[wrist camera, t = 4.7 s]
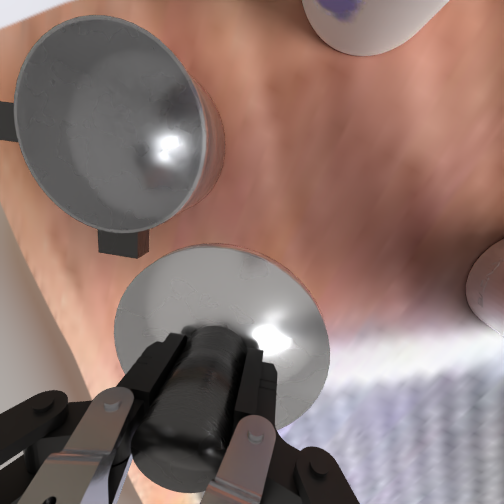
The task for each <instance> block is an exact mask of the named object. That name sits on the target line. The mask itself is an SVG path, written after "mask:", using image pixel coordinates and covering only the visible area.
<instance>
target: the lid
mask: <svg viewBox="0 0 504 504" xmlns="http://www.w3.org/2000/svg"><path fill="white" fill-rule="evenodd" d="M171 332H172V333H178V334H183V335H186V336H187V344H186V345H185V347H184V349H183V351H182V352H181V354H180V356H179V357H178V359H177V361H176V363H175V364H174V366H173V368H172V369H171V371H170V373H169V375H168V376H167V378H166V380H165V381H164V383H163V385H162V387H161V388H160V390H159V392H158V393H157V395H156V397H155V399H154V400H153V402H152V404H151V405H150V407H149V409H148V411H147V412H146V414H145V416H144V417H143V419H142V421H141V423H140V424H139V426H138V428H137V429H136V431H135V433H134V435H133V437H132V440H131V446H130V447H131V454H132V457H133V460H134V462H135V464H136V465H137V467H138V468H139V470H140V471H141V472H142V473H143V474H144V475H145V476H146V477H147V478H149V479H150V480H151V481H153V482H154V483H156V484H158V485H160V486H162V487H164V488H166V489H169V490H172V491H176V492H182V493H197V492H202V491H205V490H206V488H207V486H208V484H209V483H210V481H211V480H212V479H213V480H214V479H215V477H216V475H217V473H218V470H219V468H220V465H221V463H222V461H223V458H224V456H225V453H226V451H227V449H228V446H229V444H230V441H231V439H232V432H233V431H232V424H233V416H234V410H235V405H236V401H237V396H238V392H239V387H240V383H241V379H242V374H243V370H244V365H245V361H246V356H247V352H248V348H249V347H251V348H256V349H261V350H264V353H263V360H262V362H267V363H272V364H274V366H275V368H276V370H277V372H278V375H277V391H276V392H277V393H276V412H275V426H276V430H279V429H281V428H283V427H285V426H287V425H289V424H291V423H292V422H294V421H295V420H296V419H298V418H299V417H301V416H302V415H303V414H304V413H305V412H306V411H307V410H308V409H309V408H310V407H311V406H312V404H313V403H314V402H315V400H316V399H317V398H318V396H319V394H320V392H321V390H322V389H323V386H324V384H325V381H326V378H327V375H328V369H329V364H330V348H329V340H328V335H327V330H326V326H325V323H324V319H323V316H322V313H321V311H320V309H319V307H318V305H317V302H316V301H315V299H314V298H313V296H312V295H311V293H310V291H309V290H308V289H307V288H306V287H305V285H304V284H303V283H302V282H301V281H300V280H299V279H298V278H297V277H296V276H295V275H294V274H293V273H292V272H291V271H290V270H288V269H287V268H286V267H284V266H283V265H281V264H280V263H278V262H277V261H275V260H273V259H271V258H270V257H268V256H266V255H264V254H262V253H259V252H256V251H254V250H251V249H248V248H244V247H240V246H236V245H229V244H219V243H215V244H199V245H193V246H188V247H185V248H181V249H178V250H175V251H173V252H171V253H169V254H167V255H165V256H163V257H161V258H160V259H158V260H157V261H155V262H154V263H152V264H151V265H149V266H148V267H147V268H145V269H144V270H143V271H142V272H141V273H140V274H139V275H137V276H136V277H135V279H134V280H133V281H132V282H131V283H130V285H129V286H128V287H127V289H126V291H125V292H124V294H123V296H122V298H121V300H120V303H119V306H118V308H117V312H116V317H115V324H114V339H115V347H116V351H117V356H118V359H119V361H120V364H121V367H122V369H123V371H124V373H125V375H126V373H127V372H128V371H129V370H130V368H131V367H132V366H133V364H134V363H136V361H137V359H138V358H139V357H141V354H142V353H143V352H144V351H145V349H146V348H147V347H148V346H150V345H151V344H153V343H155V342H156V341H159V342H164V340H165V339H166V337H167V336H168V335H169V333H171Z"/></svg>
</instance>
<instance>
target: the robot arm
mask: <svg viewBox="0 0 504 504" xmlns="http://www.w3.org/2000/svg"><path fill="white" fill-rule="evenodd" d="M466 297H467V301H468V304H469V306H470V308H471V310H472V311H473V313H474V314H475V315H476V316H477V317H478V318H479V319H481V320H482V321H483V322H484V323H486V324H487V325H488V326H490V327H491V328H492V329H493V330H495V331H496V332H497V333H499V334H500V335H501V336H503V337H504V239H502V240H500V241H499V242H497V243H495V244H494V245H492V246H491V247H490V248H489V249H487V250H486V251H485V252H484V253H483V254H482V255H481V256H480V257H479V258H478V260H477V261H476V262H475V263H474V265H473V267H472V269H471V271H470V273H469V275H468V279H467V283H466ZM186 344H187V336H186V335H183V334H178V333H172V332H171V333H169V335H168V336H167V337H166V339H165V340H164V342H159V341H156V342H155V343H153V344H151V345H150V346H148V347H147V348H146V349H145V351H144V352H143V353H142V354H141V357H139V358H138V359H137V361H136V363H134V364H133V366H132V367H131V368H130V370H129V371H128V372H127V373H126V375H125V376H124V377H123V378H122V380H121V381H120V382H119V383H118V385H117V386H116V387H113V388H109V389H106V390H104V391H102V392H101V393H99V394H98V395H97V396H96V397H95V398H94V399H93V400H92V401H85V402H84V401H83V402H69V403H68V397H67V395H66V394H65V393H63V392H62V391H57V390H52V391H45V392H42V393H39V394H37V395H35V396H33V397H31V398H29V399H27V400H26V401H24V402H22V403H20V404H18V405H16V406H14V407H13V408H11V409H9V410H7V411H5V412H3V413H1V414H0V465H2V464H3V463H5V462H6V461H8V460H9V459H11V458H12V457H14V456H15V455H17V454H18V453H20V452H21V451H23V452H24V454H23V455H22V456H20V457H19V458H17V459H16V460H15V461H13V462H12V463H10V464H9V465H7V466H6V467H4V468H3V469H1V470H0V504H117V501H118V498H119V496H120V493H121V490H122V487H123V484H124V481H125V479H126V476H127V473H128V470H129V467H130V465H131V462H132V459H133V457H132V454H131V447H130V446H131V440H132V437H133V435H134V433H135V431H136V429H137V428H138V426H139V424H140V423H141V421H142V419H143V417H144V416H145V414H146V412H147V411H148V409H149V407H150V405H151V404H152V402H153V400H154V399H155V397H156V395H157V393H158V392H159V390H160V388H161V387H162V385H163V383H164V381H165V380H166V378H167V376H168V375H169V373H170V371H171V369H172V368H173V366H174V364H175V363H176V361H177V359H178V357H179V356H180V354H181V352H182V351H183V349H184V347H185V345H186ZM263 353H264V350H261V349H256V348H251V347H249V348H248V352H247V356H246V361H245V365H244V370H243V374H242V379H241V383H240V387H239V392H238V396H237V401H236V405H235V410H234V416H233V424H232V431H233V432H232V439H231V441H230V444H229V446H228V449H227V451H226V453H225V456H224V458H223V461H222V463H221V465H220V468H219V470H218V473H217V475H216V477H215V479H214V480H213V479H212V480H211V481H210V483H209V484H208V486H207V488H206V491H205V493H204V495H203V498H202V500H201V502H200V504H360V503H359V502H358V500H357V498H356V496H355V494H354V493H353V491H352V489H351V487H350V485H349V483H348V482H347V480H346V478H345V476H344V474H343V473H342V471H341V469H340V467H339V465H338V464H337V462H336V460H335V459H334V458H333V457H332V456H331V455H330V454H329V453H328V452H326V451H325V450H323V449H321V448H318V447H306V448H304V449H302V450H301V451H299V450H298V449H296V448H294V447H292V446H290V445H289V444H287V443H286V442H285V441H284V440H283V439H282V438H281V437H280V435H279V434H278V432H277V430H276V426H275V412H276V393H277V392H276V391H277V375H278V372H277V370H276V368H275V366H274V364H272V363H267V362H262V360H263Z"/></svg>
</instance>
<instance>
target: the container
mask: <svg viewBox="0 0 504 504" xmlns="http://www.w3.org/2000/svg"><path fill="white" fill-rule="evenodd" d="M449 1H450V0H302V3H303V7H304V10H305V13H306V16H307V18H308V20H309V22H310V24H311V26H312V27H313V29H314V30H315V32H316V33H317V34H318V35H319V37H320V38H321V39H322V40H323V41H325V42H326V43H327V44H328V45H330V46H331V47H333V48H334V49H336V50H338V51H340V52H343V53H346V54H350V55H355V56H371V55H377V54H381V53H384V52H387V51H390V50H392V49H394V48H396V47H398V46H400V45H401V44H403V43H405V42H406V41H407V40H409V39H410V38H411V37H413V36H414V35H415V34H416V33H417V32H418V31H419V30H420V29H421V28H422V27H423V26H424V25H425V24H426V23H427V22H428V21H429V20H430V19H431V18H432V17H433V16H434V15H435V14H436V13H437V12H438V11H439V10H440V9H441V8H442V7H443V6H444V5H445V4H446V3H447V2H449Z"/></svg>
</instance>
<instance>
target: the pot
mask: <svg viewBox="0 0 504 504" xmlns="http://www.w3.org/2000/svg"><path fill="white" fill-rule="evenodd" d="M0 140H6V141H13V142H19V145H20V149H21V152H22V154H23V157H24V159H25V162H26V164H27V166H28V168H29V170H30V172H31V174H32V175H33V177H34V178H35V180H36V181H37V183H38V184H39V186H40V187H41V188H42V190H43V191H44V192H45V193H46V195H47V196H48V197H49V198H50V199H51V200H52V201H53V202H54V203H55V204H56V205H57V206H58V207H59V208H61V209H62V210H63V211H64V212H66V213H67V214H68V215H70V216H71V217H73V218H75V219H76V220H78V221H80V222H82V223H84V224H86V225H88V226H91V227H93V228H96V229H98V247H99V252H100V253H106V254H112V255H118V256H124V257H130V258H136V259H138V258H139V257H141V256H142V255H144V254H146V253H147V252H149V229H150V228H153V227H156V226H158V225H160V224H162V223H164V222H166V221H168V220H169V219H170V218H172V217H173V216H175V215H176V214H177V213H180V212H182V211H184V210H186V209H188V208H190V207H192V206H194V205H196V204H197V203H198V202H200V201H201V200H202V199H203V198H204V197H205V196H207V194H208V193H209V192H210V191H211V190H212V188H213V187H214V185H215V183H216V182H217V180H218V178H219V175H220V173H221V170H222V167H223V163H224V157H225V134H224V129H223V124H222V121H221V118H220V115H219V112H218V110H217V108H216V106H215V104H214V102H213V101H212V99H211V98H210V96H209V95H208V93H207V92H206V91H205V90H204V89H203V87H202V86H201V85H200V84H199V83H198V82H197V81H196V80H195V79H194V78H193V77H192V76H191V75H190V74H189V73H188V72H187V70H186V69H185V67H184V66H183V64H182V63H181V62H180V61H179V59H178V58H177V57H176V56H175V55H174V54H173V52H172V51H171V50H170V49H168V48H167V47H166V46H165V45H164V44H163V43H162V42H161V41H160V40H159V39H158V38H156V37H155V36H154V35H152V34H151V33H149V32H148V31H147V30H145V29H143V28H141V27H139V26H137V25H136V24H134V23H131V22H128V21H126V20H123V19H120V18H115V17H110V16H105V15H89V16H81V17H76V18H73V19H70V20H67V21H64V22H63V23H61V24H59V25H57V26H55V27H53V28H52V29H51V30H49V31H48V32H47V33H45V34H44V35H43V36H42V37H41V38H40V39H39V40H38V41H37V42H36V44H35V45H34V46H33V47H32V49H31V50H30V52H29V53H28V55H27V57H26V59H25V61H24V63H23V65H22V67H21V70H20V73H19V76H18V79H17V83H16V89H15V95H14V103H9V102H1V101H0Z"/></svg>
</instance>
